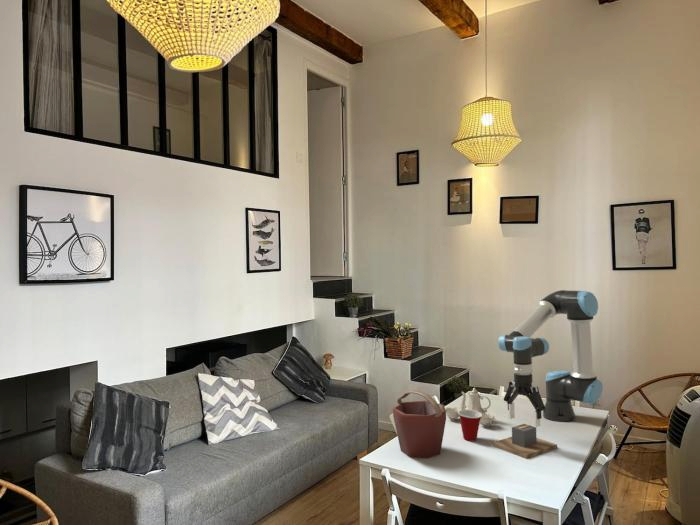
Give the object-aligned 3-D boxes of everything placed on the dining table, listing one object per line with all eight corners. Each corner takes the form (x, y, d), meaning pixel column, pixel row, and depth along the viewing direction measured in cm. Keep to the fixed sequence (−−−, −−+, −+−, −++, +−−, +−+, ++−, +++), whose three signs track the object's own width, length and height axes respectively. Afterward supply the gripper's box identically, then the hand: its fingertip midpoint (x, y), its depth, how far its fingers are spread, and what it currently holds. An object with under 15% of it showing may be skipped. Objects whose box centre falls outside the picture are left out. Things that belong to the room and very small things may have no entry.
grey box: (524, 447, 226) (523, 430, 226) (512, 443, 231) (511, 426, 231) (536, 443, 230) (536, 426, 230) (524, 439, 236) (524, 423, 236)
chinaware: (439, 424, 269) (437, 392, 267) (452, 412, 283) (450, 382, 281) (494, 433, 253) (492, 399, 252) (505, 420, 267) (503, 388, 266)
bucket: (386, 445, 237) (385, 389, 237) (430, 438, 245) (429, 383, 245) (412, 465, 214) (410, 403, 214) (459, 456, 222) (458, 396, 222)
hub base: (522, 436, 244) (522, 423, 244) (557, 448, 229) (556, 434, 229) (492, 445, 233) (492, 432, 233) (526, 458, 218) (525, 444, 218)
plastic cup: (481, 444, 236) (480, 417, 236) (456, 441, 240) (455, 414, 239) (484, 436, 246) (483, 410, 246) (460, 433, 250) (460, 408, 250)
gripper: (494, 369, 239) (496, 416, 240) (541, 379, 218) (543, 431, 219) (506, 366, 243) (507, 413, 244) (553, 376, 222) (554, 427, 223)
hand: (524, 422), depth 231 cm, fingers open, 13 cm apart
